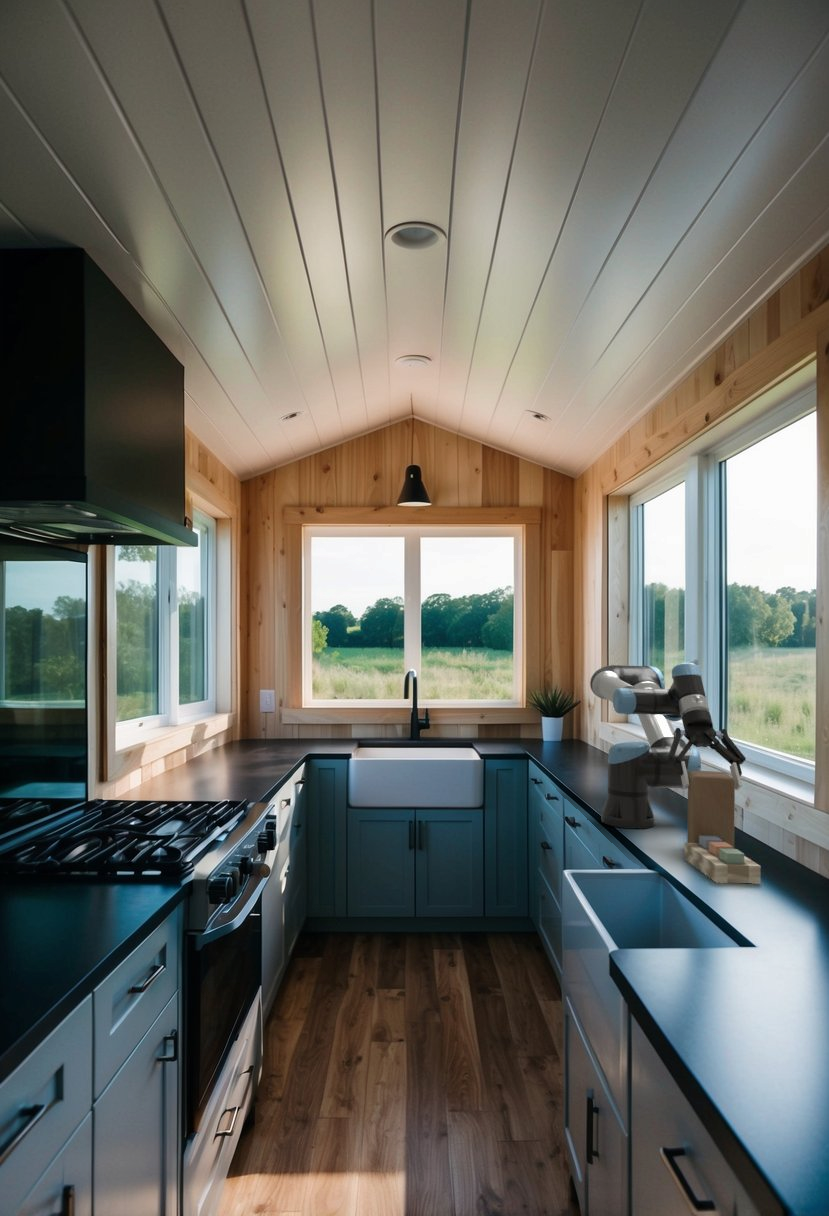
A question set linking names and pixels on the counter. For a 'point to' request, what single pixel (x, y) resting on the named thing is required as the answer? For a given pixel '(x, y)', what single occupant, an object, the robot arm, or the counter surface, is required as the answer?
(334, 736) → the counter surface
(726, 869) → the wooden slotted tray
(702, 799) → the block
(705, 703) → the robot arm
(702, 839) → the grey small cube
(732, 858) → the green button
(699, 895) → the counter surface
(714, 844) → the terracotta button
